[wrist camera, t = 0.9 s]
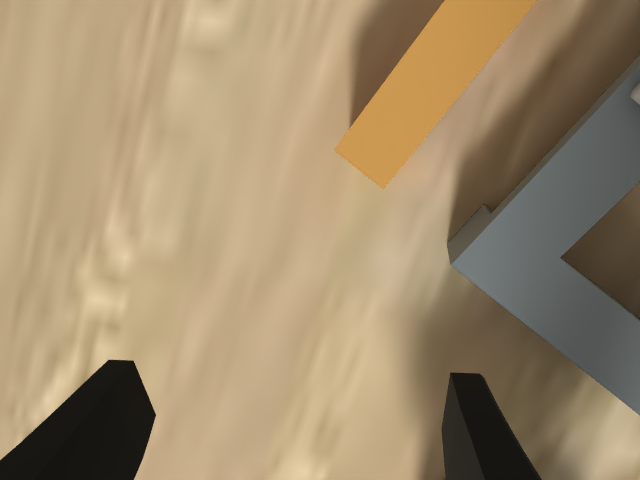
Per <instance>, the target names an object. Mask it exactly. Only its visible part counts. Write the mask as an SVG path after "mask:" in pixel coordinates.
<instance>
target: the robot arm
mask: <svg viewBox="0 0 640 480" xmlns="http://www.w3.org/2000/svg"><path fill="white" fill-rule="evenodd" d="M155 417H156V414H155V412H154V409H153V407H152V404H151V402H150V399H149V397H148V395H147V392H146V390H145V387H144V385H143V383H142V380H141V378H140V375H139V373H138V370H137V368H136V366H135V363H134V361H127V360H108V361H107V362H106V363H105V364H104V365H103V366H102V367H101V368H99V369H98V370H97V371H96V372H95V373H94V374H93V375H92V376H91V377H90V378H89V379H88V380H87V381H86V382H85V383H84V384H83V385H82V386H80V387H79V388H78V389H77V390H76V391H75V392H74V393H73V394H72V395H71V396H70V397H69V398H68V399H67V400H66V401H65V402H64V403H63V404H62V405H61V406H59V407H58V408H57V409H56V410H55V411H54V412H53V413H52V414H51V415H50V416H49V417H48V418H47V419H46V420H45V421H43V422H42V423H41V424H40V425H39V426H38V427H37V428H36V429H35V430H34V431H33V432H32V433H31V434H29V435H28V436H27V437H26V438H25V439H24V440H23V441H22V442H21V443H20V444H19V445H17V446H16V447H15V448H14V449H13V450H12V451H10V452H9V453H8V454H7V455H6V456H5V457H4V458H2V459H1V460H0V480H134V478H135V476H136V473H137V471H138V469H139V466H140V464H141V462H142V459H143V456H144V453H145V450H146V447H147V444H148V441H149V437H150V434H151V430H152V427H153V423H154V420H155ZM442 440H443V451H444V462H445V472H446V480H542V479H541V478H540V476H539V475H538V473H537V471H536V470H535V468H534V467H533V465H532V463H531V462H530V460H529V459H528V457H527V455H526V454H525V452H524V451H523V449H522V447H521V446H520V444H519V442H518V441H517V439H516V437H515V435H514V434H513V432H512V430H511V428H510V427H509V425H508V423H507V421H506V420H505V418H504V416H503V414H502V412H501V410H500V409H499V407H498V405H497V403H496V401H495V399H494V397H493V395H492V393H491V391H490V389H489V387H488V385H487V383H486V381H485V379H484V377H483V376H482V375H481V374H474V373H450V379H449V385H448V391H447V398H446V404H445V411H444V417H443V424H442Z"/></svg>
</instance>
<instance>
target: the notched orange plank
mask: <svg viewBox="0 0 640 480" xmlns="http://www.w3.org/2000/svg"><path fill="white" fill-rule="evenodd" d="M536 1H537V0H444V2H443V3H442V4H441V6H440V7H439V8H438V10H437V11H436V12H435V14H434V15H433V17H432V18H431V19H430V21H429V22H428V23H427V25H426V26H425V27H424V29H423V30H422V31H421V33H420V34H419V35H418V37H417V38H416V40H415V41H414V42H413V44H412V45H411V46H410V48H409V49H408V50H407V52H406V53H405V54H404V56H403V57H402V58H401V60H400V61H399V62H398V64H397V65H396V67H395V68H394V69H393V71H392V72H391V73H390V75H389V76H388V77H387V79H386V80H385V81H384V83H383V84H382V85H381V87H380V88H379V90H378V91H377V92H376V94H375V95H374V96H373V98H372V99H371V100H370V102H369V103H368V104H367V106H366V107H365V108H364V110H363V111H362V112H361V114H360V115H359V117H358V118H357V119H356V121H355V122H354V123H353V125H352V126H351V127H350V129H349V130H348V131H347V133H346V134H345V135H344V137H343V138H342V140H341V141H340V142H339V144H338V145H337V146H336V148H335V149H334V151H335V152H337V153H338V154H339V155H340V156H342V157H343V158H344V159H346V160H347V161H348V162H349V163H351V164H352V165H353V166H354V167H356V168H357V169H358V170H359V171H361V172H362V173H363V174H364V175H366V176H367V177H368V178H369V179H371V180H372V181H373V182H375V183H376V184H377V185H378V186H380V187H381V188H382V189H384V188H385V187H386V185H387V184H388V183H389V182H390V181H391V179H392V178H393V177H394V176H395V174H396V173H397V172H398V171H399V169H400V168H401V167H402V166H403V165H404V163H405V162H406V161H407V160H408V158H409V157H410V156H411V155H412V153H413V152H414V151H415V150H416V149H417V147H418V146H419V145H420V144H421V142H422V141H423V140H424V139H425V137H426V136H427V135H428V134H429V133H430V131H431V130H432V129H433V128H434V126H435V125H436V124H437V123H438V122H439V120H440V119H441V118H442V117H443V115H444V114H445V113H446V112H447V110H448V109H449V108H450V107H451V106H452V104H453V103H454V102H455V101H456V99H457V98H458V97H459V96H460V94H461V93H462V92H463V91H464V90H465V88H466V87H467V86H468V85H469V83H470V82H471V81H472V80H473V78H474V77H475V76H476V75H477V74H478V72H479V71H480V70H481V69H482V67H483V66H484V65H485V64H486V62H487V61H488V60H489V59H490V58H491V56H492V55H493V54H494V53H495V51H496V50H497V49H498V48H499V46H500V45H501V44H502V43H503V42H504V40H505V39H506V38H507V37H508V35H509V34H510V33H511V32H512V31H513V29H514V28H515V27H516V26H517V24H518V23H519V22H520V21H521V19H522V18H523V17H524V16H525V15H526V13H527V12H528V11H529V10H530V8H531V7H532V6H533V5H534V3H535V2H536Z"/></svg>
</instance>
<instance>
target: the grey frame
mask: <svg viewBox="0 0 640 480" xmlns="http://www.w3.org/2000/svg"><path fill="white" fill-rule="evenodd" d="M639 181H640V55H639V56H638V57H637V58H636V59H635V60H634V61H633V62H632V63H631V64H630V66H629V67H628V68H627V69H626V70H625V71H624V72H623V73H622V74H621V75H620V76H619V77H618V78H617V79H616V80H615V82H614V83H613V84H612V85H611V86H610V87H609V88H608V89H607V90H606V91H605V92H604V93H603V94H602V95H601V97H600V98H599V99H598V100H597V101H596V102H595V103H594V104H593V105H592V106H591V107H590V108H589V109H588V110H587V112H586V113H585V114H584V115H583V116H582V117H581V118H580V119H579V120H578V121H577V122H576V123H575V124H574V125H573V127H572V128H571V129H570V130H569V131H568V132H567V133H566V134H565V135H564V136H563V137H562V138H561V139H560V140H559V142H558V143H557V144H556V145H555V146H554V147H553V148H552V149H551V150H550V151H549V152H548V153H547V154H546V155H545V156H544V158H543V159H542V160H541V161H540V162H539V163H538V164H537V165H536V166H535V167H534V168H533V169H532V170H531V171H530V173H529V174H528V175H527V176H526V177H525V178H524V179H523V180H522V181H521V182H520V183H519V184H518V185H517V186H516V188H515V189H514V190H513V191H512V192H511V193H510V194H509V195H508V196H507V197H506V198H505V199H504V200H503V201H502V203H501V204H500V205H499V206H498V207H497V208H496V209H495V210H494V211H491V210H490V209H489V208H487V207H486V206H485V205H484V204H483V205H482V206H481V207H480V208H479V209H478V211H477V212H476V213H475V214H474V215H473V216H472V217H471V218H470V219H469V220H468V221H467V223H466V224H465V225H464V226H463V227H462V228H461V229H460V230H459V231H458V232H457V233H456V234H455V236H454V237H453V238H452V239H451V240H450V241H449V242H448V243H447V248H448V253H449V258H450V264H451V266H452V267H454V268H455V269H456V270H457V271H459V272H460V273H461V274H462V275H464V276H465V277H466V278H467V279H469V280H470V281H471V282H472V283H474V284H475V285H476V286H478V287H479V288H480V289H481V290H483V291H484V292H485V293H486V294H488V295H489V296H490V297H491V298H493V299H494V300H495V301H496V302H498V303H499V304H500V305H501V306H503V307H504V308H505V309H507V310H508V311H509V312H510V313H512V314H513V315H514V316H515V317H517V318H518V319H519V320H520V321H522V322H523V323H524V324H525V325H527V326H528V327H529V328H530V329H532V330H533V331H534V332H535V333H537V334H538V335H539V336H541V337H542V338H543V339H544V340H546V341H547V342H548V343H549V344H551V345H552V346H553V347H554V348H556V349H557V350H558V351H559V352H561V353H562V354H563V355H564V356H566V357H567V358H568V359H570V360H571V361H572V362H573V363H575V364H576V365H577V366H578V367H580V368H581V369H582V370H583V371H585V372H586V373H587V374H588V375H590V376H591V377H592V378H593V379H595V380H596V381H597V382H599V383H600V384H601V385H602V386H604V387H605V388H606V389H607V390H609V391H610V392H611V393H612V394H614V395H615V396H616V397H617V398H619V399H620V400H621V401H622V402H624V403H625V404H626V405H628V406H629V407H630V408H631V409H633V410H634V411H635V412H636V413H638V414H639V415H640V319H638V318H637V317H636V316H635V315H633V314H632V313H631V312H630V311H628V310H627V309H626V308H624V307H623V306H622V305H621V304H619V303H618V302H617V301H616V300H614V299H613V298H612V297H611V296H609V295H608V294H607V293H606V292H604V291H603V290H602V289H600V288H599V287H598V286H597V285H595V284H594V283H593V282H592V281H590V280H589V279H588V278H587V277H585V276H584V275H583V274H582V273H580V272H579V271H578V270H576V269H575V268H574V267H573V266H571V265H570V264H569V263H568V262H566V261H565V260H564V259H563V258H561V256H562V255H563V254H564V253H565V252H566V251H567V250H569V249H570V248H571V247H572V246H573V245H574V244H575V243H576V242H577V241H578V240H579V239H580V238H581V237H582V236H583V235H584V234H585V233H586V232H587V231H588V230H589V229H590V228H591V227H593V226H594V225H595V224H596V223H597V222H598V221H599V220H600V219H601V218H602V217H603V216H604V215H605V214H606V213H607V212H608V211H609V210H610V209H611V208H612V207H613V206H614V205H615V204H617V203H618V202H619V201H620V200H621V199H622V198H623V197H624V196H625V195H626V194H627V193H628V192H629V191H630V190H631V189H632V188H633V187H634V186H635V185H636V184H637V183H638V182H639Z"/></svg>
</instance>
